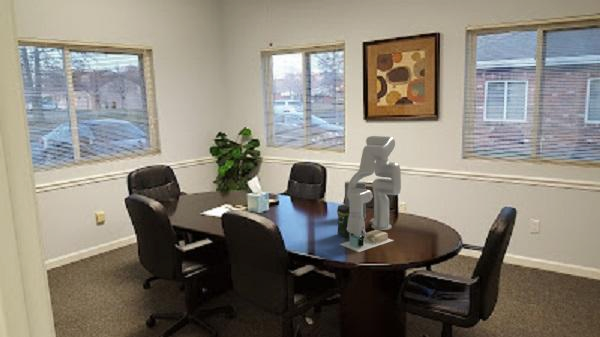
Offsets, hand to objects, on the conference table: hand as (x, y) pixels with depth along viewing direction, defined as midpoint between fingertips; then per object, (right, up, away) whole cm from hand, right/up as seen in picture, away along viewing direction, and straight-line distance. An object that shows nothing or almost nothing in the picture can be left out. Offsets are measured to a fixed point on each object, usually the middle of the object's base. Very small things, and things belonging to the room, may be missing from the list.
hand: (356, 244), depth 256 cm
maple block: (+13, +1, +9) cm, 16 cm away
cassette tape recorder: (+6, +9, +53) cm, 55 cm away
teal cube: (0, -1, 0) cm, 1 cm away
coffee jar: (-4, +2, +19) cm, 20 cm away
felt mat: (+6, 0, +5) cm, 8 cm away
